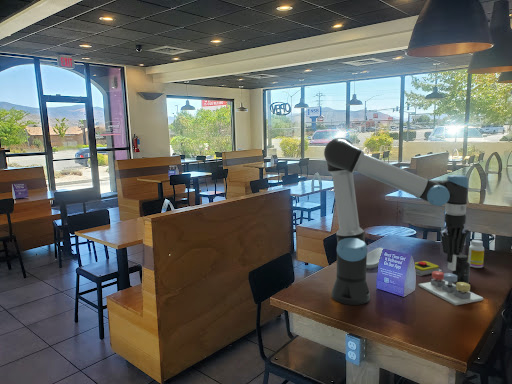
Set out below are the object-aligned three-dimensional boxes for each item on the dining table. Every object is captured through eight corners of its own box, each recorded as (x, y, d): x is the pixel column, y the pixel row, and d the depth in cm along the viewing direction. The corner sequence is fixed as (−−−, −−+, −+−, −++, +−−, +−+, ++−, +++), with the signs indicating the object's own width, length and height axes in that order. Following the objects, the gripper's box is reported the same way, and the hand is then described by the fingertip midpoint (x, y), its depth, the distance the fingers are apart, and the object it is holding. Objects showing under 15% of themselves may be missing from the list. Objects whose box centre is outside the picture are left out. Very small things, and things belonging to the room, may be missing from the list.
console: (455, 305, 148) (455, 298, 148) (418, 286, 167) (419, 279, 166) (483, 300, 152) (483, 293, 152) (444, 281, 171) (444, 275, 171)
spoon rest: (371, 272, 184) (372, 258, 183) (350, 266, 193) (351, 252, 192) (396, 261, 199) (397, 248, 198) (376, 256, 208) (377, 243, 207)
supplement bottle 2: (485, 268, 187) (488, 243, 185) (472, 268, 187) (474, 243, 185) (478, 263, 194) (480, 239, 192) (465, 263, 194) (466, 239, 192)
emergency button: (405, 261, 186) (428, 257, 192) (404, 270, 187) (427, 265, 193) (420, 268, 178) (443, 263, 184) (419, 277, 179) (443, 272, 185)
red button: (437, 285, 162) (438, 276, 162) (428, 280, 167) (429, 272, 166) (447, 283, 164) (447, 274, 163) (438, 279, 168) (438, 270, 168)
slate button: (449, 287, 156) (450, 278, 155) (440, 283, 161) (441, 274, 160) (459, 286, 157) (460, 276, 157) (450, 281, 162) (450, 272, 162)
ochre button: (462, 297, 150) (463, 287, 149) (452, 292, 155) (453, 283, 154) (472, 295, 152) (473, 285, 151) (462, 290, 156) (463, 281, 156)
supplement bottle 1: (466, 279, 174) (468, 254, 172) (470, 285, 167) (472, 258, 165) (450, 278, 176) (451, 252, 174) (453, 283, 169) (455, 257, 167)
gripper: (449, 216, 149) (445, 274, 152) (475, 214, 153) (471, 270, 156) (435, 213, 156) (431, 268, 159) (460, 210, 160) (456, 264, 163)
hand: (451, 269), depth 158 cm, fingers closed
